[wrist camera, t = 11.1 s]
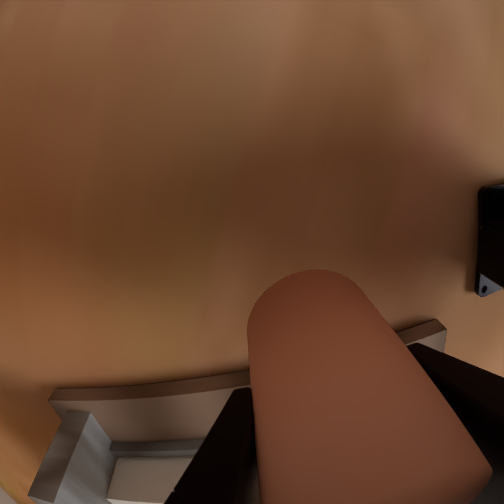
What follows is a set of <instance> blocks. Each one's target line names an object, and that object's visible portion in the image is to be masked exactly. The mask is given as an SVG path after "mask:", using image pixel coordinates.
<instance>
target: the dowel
mask: <svg viewBox="0 0 504 504" xmlns="http://www.w3.org/2000/svg"><path fill="white" fill-rule="evenodd" d="M247 338H248V352H249V367H250V381H251V392H252V406H253V419H254V433H255V447H256V460H257V472H258V484H259V496H260V504H469V503H471V502H472V501H473V500H474V499H475V498H476V497H477V496H478V495H479V494H480V493H481V491H482V490H483V489H484V488H485V486H486V485H487V484H488V482H489V480H490V478H491V476H492V472H493V471H492V468H491V466H490V464H489V463H488V461H487V460H486V458H485V457H484V455H483V454H482V452H481V450H480V449H479V447H478V446H477V444H476V443H475V441H474V440H473V438H472V437H471V435H470V434H469V432H468V431H467V429H466V428H465V427H464V425H463V424H462V422H461V421H460V419H459V418H458V416H457V415H456V414H455V412H454V411H453V409H452V408H451V406H450V405H449V404H448V402H447V401H446V399H445V398H444V397H443V395H442V394H441V392H440V391H439V390H438V388H437V387H436V386H435V384H434V383H433V381H432V380H431V379H430V377H429V376H428V375H427V373H426V372H425V371H424V369H423V368H422V367H421V365H420V364H419V363H418V361H417V360H416V359H415V357H414V356H413V355H412V353H411V352H410V351H409V350H408V348H407V347H406V346H405V344H404V343H403V342H402V340H401V339H400V338H399V337H398V335H397V334H396V333H395V332H394V330H393V329H392V328H391V326H390V325H389V324H388V323H387V321H386V320H385V319H384V318H383V316H382V315H381V314H380V313H379V311H378V310H377V309H376V308H375V306H374V305H373V304H372V303H371V302H370V300H369V299H368V298H367V297H366V295H365V294H364V293H363V292H362V291H361V289H360V288H359V287H358V286H357V285H356V284H355V283H354V282H353V281H351V280H350V279H349V278H347V277H345V276H343V275H341V274H338V273H336V272H331V271H326V270H309V271H303V272H299V273H295V274H292V275H290V276H287V277H285V278H283V279H281V280H280V281H278V282H276V283H275V284H273V285H272V286H271V287H269V288H268V289H267V290H266V291H265V292H264V293H263V294H262V295H261V297H260V298H259V299H258V300H257V302H256V303H255V305H254V307H253V309H252V311H251V313H250V316H249V320H248V326H247Z"/></svg>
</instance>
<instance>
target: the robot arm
mask: <svg viewBox="0 0 504 504" xmlns="http://www.w3.org/2000/svg"><path fill="white" fill-rule="evenodd" d="M486 194H487V198H486ZM478 209H479V229H478V257H477V271H476V283H475V293H476V294H477V295H478V296H480V297H484V296H487V295H489V294H492V293H494V292H496V291H498V290H501V289H504V183H499V184H493V185H488V186H483V187H481V189H480V190H479V193H478ZM406 347H407V348H408V350H409V351H410V352H411V353H412V355H413V356H414V357H415V359H416V360H417V361H418V363H419V364H420V365H421V367H422V368H423V369H424V371H425V372H426V373H427V375H428V376H429V377H430V379H431V380H432V381H433V383H434V384H435V386H436V387H437V388H438V390H439V391H440V392H441V394H442V395H443V397H444V398H445V399H446V401H447V402H448V404H449V405H450V406H451V408H452V409H453V411H454V412H455V414H456V415H457V416H458V418H459V419H460V421H461V422H462V424H463V425H464V427H465V428H466V429H467V431H468V432H469V434H470V435H471V437H472V438H473V440H474V441H475V443H476V444H477V446H478V447H479V449H480V450H481V452H482V454H483V455H484V457H485V458H486V460H487V461H488V463H489V464H490V466H491V468H492V471H493V472H492V476H491V478H490V480H489V482H488V484H487V485H486V486H485V488H484V489H483V490H482V491H481V493H480V494H479V495H478V496H477V497H476V498H475V499H474V500H473V501H472V502H471V503H469V504H504V378H503V377H501V376H498V375H496V374H493V373H491V372H489V371H486V370H484V369H481V368H479V367H476V366H474V365H471V364H469V363H467V362H464V361H462V360H459V359H457V358H455V357H452V356H450V355H447V354H445V353H442V352H440V351H438V350H435V349H433V348H431V347H428V346H426V345H423V344H421V343H418V342H415V343H412V344H409V345H407V346H406ZM173 490H174V491H172V492H171V493H170V495H169V496H168V498H167V499H166V501H165V502H164V504H260V496H259V484H258V472H257V460H256V447H255V433H254V419H253V406H252V392H251V388H250V387H243V388H237V389H234V390H233V391H232V393H231V395H230V397H229V398H228V400H227V402H226V403H225V405H224V407H223V409H222V410H221V412H220V414H219V415H218V417H217V419H216V421H215V422H214V424H213V426H212V427H211V429H210V431H209V432H208V434H207V436H206V437H205V439H204V441H203V442H202V444H201V446H200V447H199V449H198V450H197V452H196V454H195V455H194V457H193V459H192V460H191V462H190V463H189V465H188V467H187V468H186V470H185V471H184V473H183V475H182V476H181V478H180V479H179V481H178V482H177V484H176V486H175V487H174V489H173Z"/></svg>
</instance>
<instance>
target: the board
mask: <svg viewBox="0 0 504 504" xmlns="http://www.w3.org/2000/svg"><path fill="white" fill-rule="evenodd" d="M446 333H447V329H446V328H445V327H444V326H443V325H442V324H441V323H440V322H439V321H438V320H437V319H435V320H432V321H430V322H427V323H424V324H421V325H418V326H415V327H412V328H409V329H406V330H403V331H400V332H397V333H396V334H397V335H398V337H399V338H400V339H401V340H402V342H403V343H404V344H405V346H407V345H409V344H412V343H415V342H418V343H421V344H423V345H426V346H428V347H431V348H433V349H435V350H438V351H440V352H442V353H444V347H445V341H446ZM243 387H250V388H251V381H250V370H246V371H240V372H234V373H228V374H222V375H216V376H210V377H203V378H196V379H188V380H181V381H172V382H164V383H154V384H144V385H133V386H119V387H103V388H79V389H55V390H54V392H53V393H52V395H51V396H50V398H49V400H48V401H49V402H50V404H51V405H52V407H53V408H54V410H55V411H56V412H57V414H58V415H59V417H60V418H61V419H62V422H61V424H60V426H59V428H58V430H57V432H56V434H55V436H54V438H53V440H52V442H51V444H50V447H49V449H48V451H47V453H46V455H45V457H44V459H43V461H42V463H41V466H40V468H39V470H38V472H37V474H36V477H35V479H34V481H33V484H32V486H31V488H30V491H29V493H28V495H27V496H29V497H30V498H31V499H32V500H33V501H34V502H36V503H37V504H112V503H111V502H109V501H108V500H107V499H106V498H107V494H108V490H109V487H110V483H111V480H112V476H113V473H114V469H115V466H116V462H117V459H118V456H130V457H163V456H188V455H195V454H196V452H197V450H198V449H199V447H200V446H201V444H202V442H203V441H204V439H205V437H206V436H207V434H208V432H209V431H210V429H211V427H212V426H213V424H214V422H215V421H216V419H217V417H218V415H219V414H220V412H221V410H222V409H223V407H224V405H225V403H226V402H227V400H228V398H229V397H230V395H231V393H232V391H233V390H234V389H237V388H243Z"/></svg>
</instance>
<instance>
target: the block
mask: <svg viewBox="0 0 504 504" xmlns="http://www.w3.org/2000/svg"><path fill="white" fill-rule="evenodd" d="M193 457H194V455H188V456H163V457H130V456H118V459H117V462H116V466H115V469H114V473H113V476H112V480H111V483H110V487H109V490H108V494H107V498H106V499H107V500H108V501H109V502H111V503H112V504H164V502H165V501H166V499H167V498H168V496H169V495H170V493H171V492H172V491H174V490H173V489H174V487H175V486H176V484H177V482H178V481H179V479H180V478H181V476H182V475H183V473H184V471H185V470H186V468H187V467H188V465H189V463H190V462H191V460H192V459H193Z"/></svg>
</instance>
